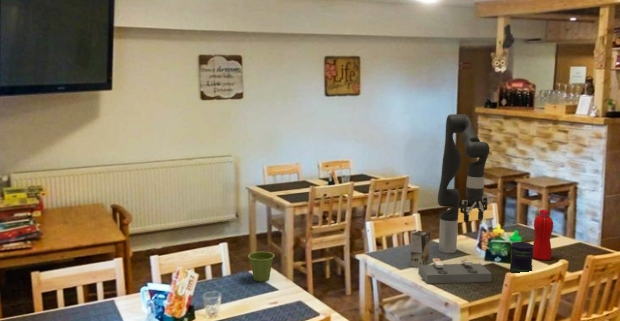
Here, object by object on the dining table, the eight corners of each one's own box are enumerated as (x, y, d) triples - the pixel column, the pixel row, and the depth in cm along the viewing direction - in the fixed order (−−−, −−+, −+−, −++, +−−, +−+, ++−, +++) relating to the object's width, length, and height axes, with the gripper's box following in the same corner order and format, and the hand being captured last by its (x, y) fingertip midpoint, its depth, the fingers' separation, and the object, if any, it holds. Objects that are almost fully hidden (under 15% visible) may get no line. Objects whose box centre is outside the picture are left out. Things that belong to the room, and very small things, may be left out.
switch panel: (418, 273, 287) (418, 264, 286) (479, 271, 290) (480, 262, 289) (427, 283, 273) (427, 274, 272) (491, 281, 276) (492, 272, 275)
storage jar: (523, 280, 278) (525, 249, 275) (505, 274, 286) (506, 244, 283) (536, 276, 284) (538, 245, 281) (518, 270, 291) (519, 240, 289)
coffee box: (422, 268, 293) (423, 236, 291) (410, 266, 297) (411, 234, 294) (429, 263, 301) (430, 231, 299) (416, 261, 304) (418, 230, 302)
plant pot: (243, 279, 277) (242, 255, 276) (263, 273, 286) (262, 249, 284) (259, 285, 269) (259, 261, 267) (279, 279, 277) (279, 255, 275)
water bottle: (532, 260, 306) (535, 212, 303) (531, 254, 317) (534, 207, 313) (551, 262, 304) (555, 213, 300) (550, 255, 314) (553, 208, 310)
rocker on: (461, 262, 288) (461, 259, 288) (467, 261, 288) (467, 259, 288) (466, 265, 281) (466, 262, 281) (472, 264, 281) (472, 262, 281)
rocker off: (432, 260, 287) (432, 258, 286) (438, 260, 287) (438, 258, 286) (436, 267, 280) (436, 265, 279) (443, 267, 280) (443, 264, 280)
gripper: (480, 182, 279) (478, 217, 282) (457, 186, 272) (455, 221, 275) (492, 185, 273) (490, 221, 275) (469, 189, 266) (467, 225, 268)
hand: (473, 221), depth 275 cm, fingers open, 8 cm apart
